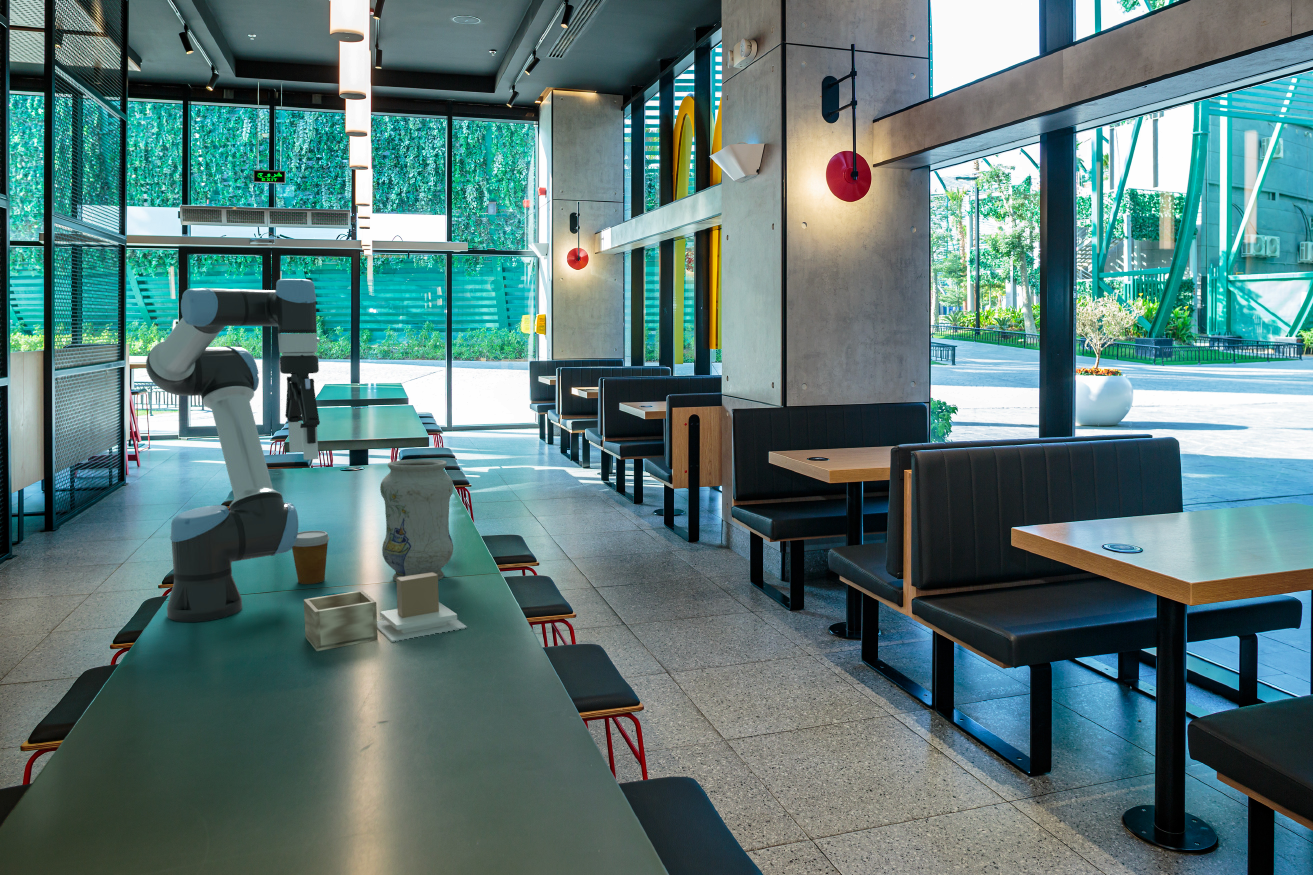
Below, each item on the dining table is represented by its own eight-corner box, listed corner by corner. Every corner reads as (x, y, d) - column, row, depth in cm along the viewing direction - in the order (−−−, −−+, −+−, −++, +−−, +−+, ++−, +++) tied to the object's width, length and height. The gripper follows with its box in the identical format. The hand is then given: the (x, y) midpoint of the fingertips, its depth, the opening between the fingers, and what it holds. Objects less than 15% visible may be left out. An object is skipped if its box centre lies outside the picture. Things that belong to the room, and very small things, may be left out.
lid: (397, 636, 188) (395, 587, 187) (380, 622, 198) (378, 575, 196) (457, 625, 196) (456, 577, 194) (438, 612, 205) (437, 566, 203)
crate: (316, 651, 181) (315, 611, 180) (305, 637, 190) (303, 599, 189) (377, 639, 188) (376, 601, 187) (364, 626, 196) (362, 590, 195)
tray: (392, 642, 186) (391, 640, 186) (372, 623, 198) (372, 622, 198) (466, 628, 195) (466, 626, 195) (443, 611, 207) (443, 609, 207)
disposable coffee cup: (318, 586, 227) (315, 539, 225) (283, 584, 229) (281, 537, 227) (338, 576, 236) (336, 531, 235) (305, 574, 238) (303, 529, 236)
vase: (427, 564, 248) (423, 454, 244) (470, 575, 237) (467, 460, 233) (369, 578, 234) (364, 462, 231) (411, 591, 223) (407, 469, 219)
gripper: (332, 355, 183) (336, 460, 185) (304, 352, 204) (308, 447, 206) (292, 356, 179) (297, 463, 181) (268, 353, 200) (273, 450, 202)
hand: (303, 455), depth 194 cm, fingers open, 13 cm apart
